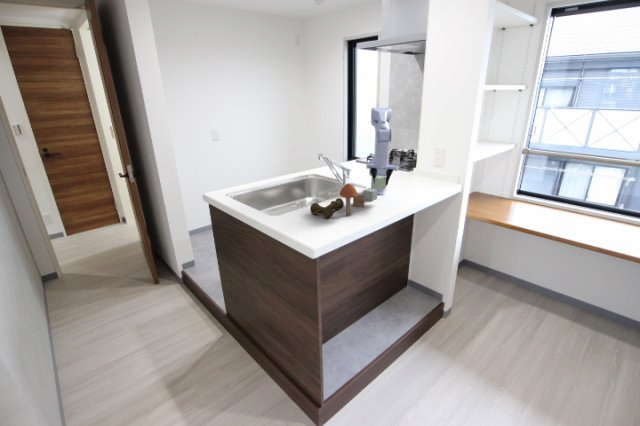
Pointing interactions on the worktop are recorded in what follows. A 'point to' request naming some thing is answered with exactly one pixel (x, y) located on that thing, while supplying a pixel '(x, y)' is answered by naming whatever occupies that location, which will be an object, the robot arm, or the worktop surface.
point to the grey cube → (370, 194)
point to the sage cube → (380, 182)
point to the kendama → (327, 208)
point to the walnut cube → (359, 200)
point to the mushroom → (348, 196)
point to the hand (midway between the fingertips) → (380, 184)
